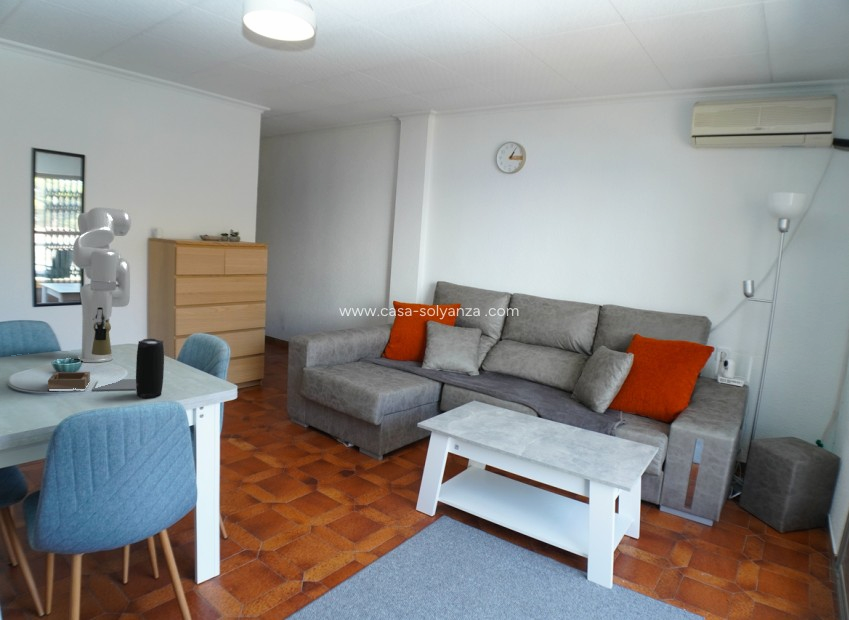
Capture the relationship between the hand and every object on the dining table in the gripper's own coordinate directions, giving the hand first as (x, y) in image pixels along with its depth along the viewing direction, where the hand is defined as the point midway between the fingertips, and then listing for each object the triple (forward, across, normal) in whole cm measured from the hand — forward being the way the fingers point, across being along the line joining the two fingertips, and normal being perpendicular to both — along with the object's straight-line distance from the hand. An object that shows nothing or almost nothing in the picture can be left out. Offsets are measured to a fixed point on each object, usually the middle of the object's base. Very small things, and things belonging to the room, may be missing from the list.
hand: (102, 337), depth 187 cm
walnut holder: (+17, +1, -9) cm, 20 cm away
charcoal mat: (+17, 0, +5) cm, 18 cm away
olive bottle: (+6, 0, 0) cm, 6 cm away
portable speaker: (+17, +12, +16) cm, 27 cm away
